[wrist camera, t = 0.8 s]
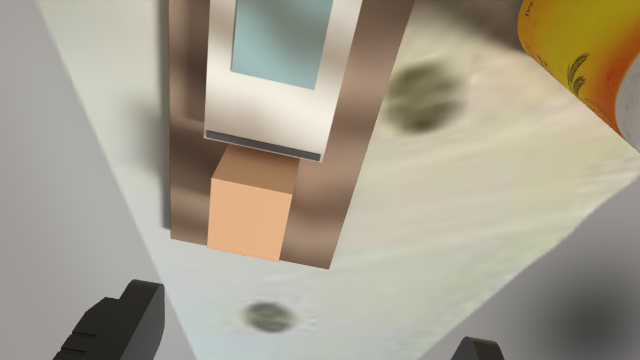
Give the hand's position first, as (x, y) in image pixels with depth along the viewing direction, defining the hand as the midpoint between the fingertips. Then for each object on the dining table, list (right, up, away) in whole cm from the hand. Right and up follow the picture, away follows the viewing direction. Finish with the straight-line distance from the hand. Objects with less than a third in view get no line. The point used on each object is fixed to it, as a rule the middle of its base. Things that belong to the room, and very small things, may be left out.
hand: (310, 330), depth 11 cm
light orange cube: (-4, +4, +20) cm, 21 cm away
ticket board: (-3, +10, +17) cm, 20 cm away
